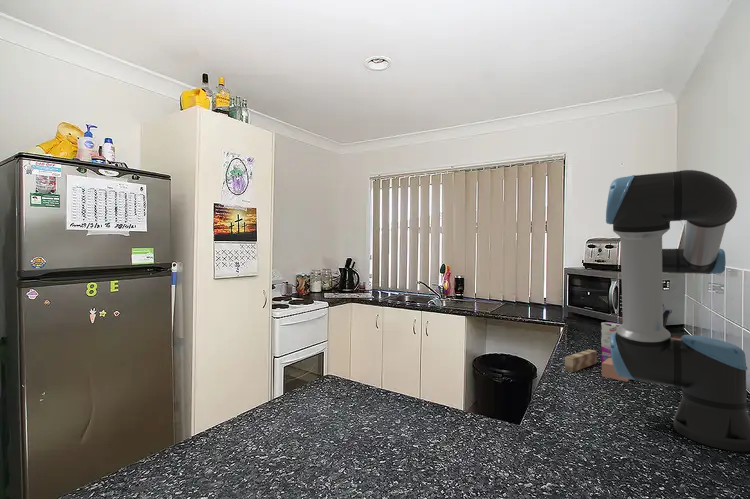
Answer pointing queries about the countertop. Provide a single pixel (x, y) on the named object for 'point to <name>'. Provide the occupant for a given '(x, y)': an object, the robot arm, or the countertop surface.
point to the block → (611, 370)
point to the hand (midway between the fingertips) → (648, 356)
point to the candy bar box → (607, 339)
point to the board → (580, 360)
